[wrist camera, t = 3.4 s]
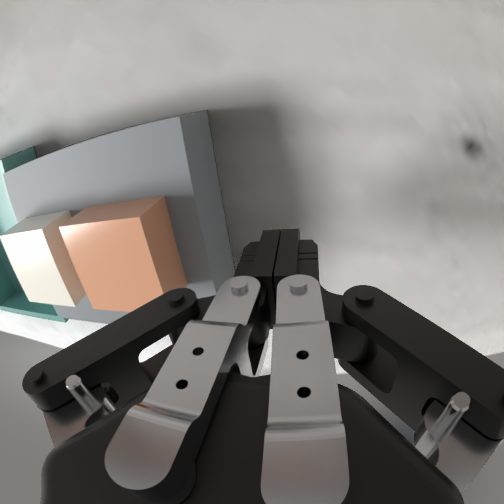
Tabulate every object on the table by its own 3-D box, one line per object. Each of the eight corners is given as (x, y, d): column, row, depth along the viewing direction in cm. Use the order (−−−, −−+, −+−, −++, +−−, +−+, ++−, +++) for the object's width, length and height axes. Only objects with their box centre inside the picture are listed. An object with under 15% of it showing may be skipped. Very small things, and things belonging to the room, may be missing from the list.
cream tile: (69, 210, 15) (41, 229, 13) (96, 282, 17) (75, 307, 15) (23, 218, 16) (-1, 235, 14) (49, 281, 18) (29, 301, 16)
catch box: (33, 146, 18) (1, 159, 15) (86, 297, 24) (65, 322, 21) (-26, 177, 20) (-50, 190, 17) (18, 291, 27) (0, 309, 24)
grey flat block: (206, 110, 15) (179, 116, 12) (238, 292, 21) (225, 332, 17) (39, 157, 18) (2, 174, 15) (85, 288, 24) (60, 317, 20)
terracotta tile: (164, 196, 14) (139, 217, 12) (187, 284, 16) (170, 314, 14) (86, 206, 15) (58, 226, 13) (114, 283, 17) (93, 309, 15)
